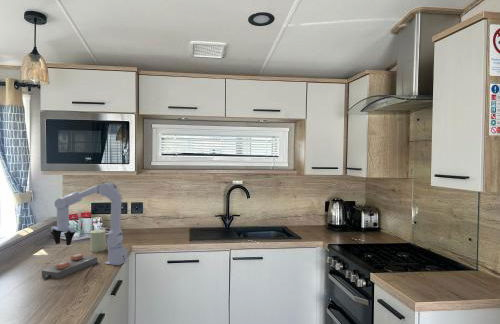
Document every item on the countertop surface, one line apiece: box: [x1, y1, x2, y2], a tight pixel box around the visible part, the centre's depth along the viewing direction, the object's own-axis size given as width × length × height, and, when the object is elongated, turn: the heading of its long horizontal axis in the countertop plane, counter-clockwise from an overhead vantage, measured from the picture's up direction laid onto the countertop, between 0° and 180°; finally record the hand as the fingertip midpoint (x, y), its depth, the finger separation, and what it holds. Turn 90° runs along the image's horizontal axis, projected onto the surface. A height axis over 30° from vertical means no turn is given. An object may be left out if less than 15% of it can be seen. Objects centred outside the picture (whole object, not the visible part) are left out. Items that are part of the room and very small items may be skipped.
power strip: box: [41, 255, 98, 280], centre depth 177 cm, size 10×29×3 cm, turn 162°
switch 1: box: [56, 261, 70, 269], centre depth 172 cm, size 3×5×2 cm, turn 162°
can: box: [89, 229, 107, 253], centre depth 215 cm, size 9×9×12 cm
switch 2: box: [70, 253, 84, 260], centre depth 185 cm, size 3×5×2 cm, turn 162°
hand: (63, 244), depth 188 cm, fingers open, 7 cm apart
